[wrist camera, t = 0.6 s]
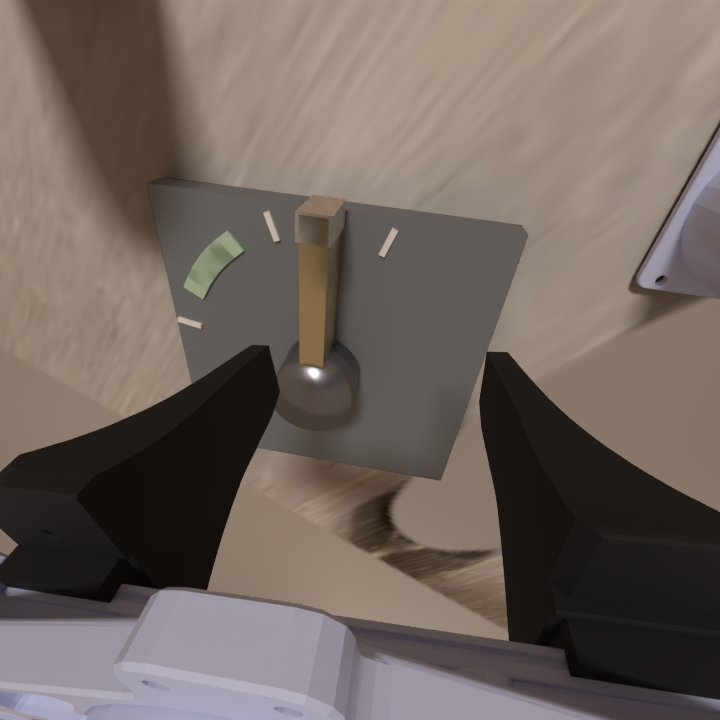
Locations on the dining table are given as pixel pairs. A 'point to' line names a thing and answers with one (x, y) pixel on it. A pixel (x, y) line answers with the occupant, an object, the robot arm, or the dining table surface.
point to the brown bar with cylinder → (317, 326)
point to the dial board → (344, 310)
